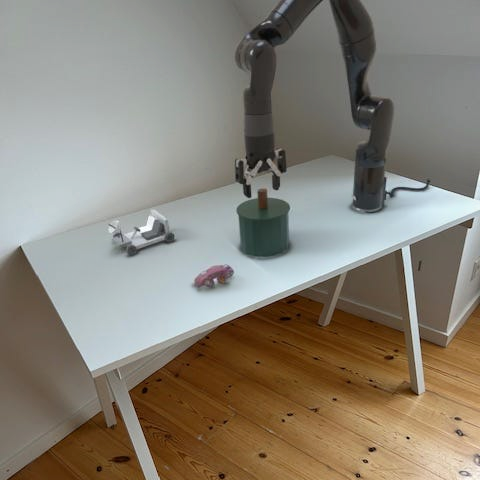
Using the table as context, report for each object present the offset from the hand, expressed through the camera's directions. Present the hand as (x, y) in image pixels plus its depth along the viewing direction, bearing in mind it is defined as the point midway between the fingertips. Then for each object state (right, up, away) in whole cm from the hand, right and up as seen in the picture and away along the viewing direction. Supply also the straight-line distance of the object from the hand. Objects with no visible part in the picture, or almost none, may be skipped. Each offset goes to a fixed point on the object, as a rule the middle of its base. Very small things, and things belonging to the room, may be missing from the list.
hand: (262, 193), depth 130 cm
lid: (0, -4, +3) cm, 5 cm away
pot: (+1, -13, +9) cm, 16 cm away
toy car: (-36, -11, +17) cm, 42 cm away
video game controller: (-12, -25, -5) cm, 28 cm away
